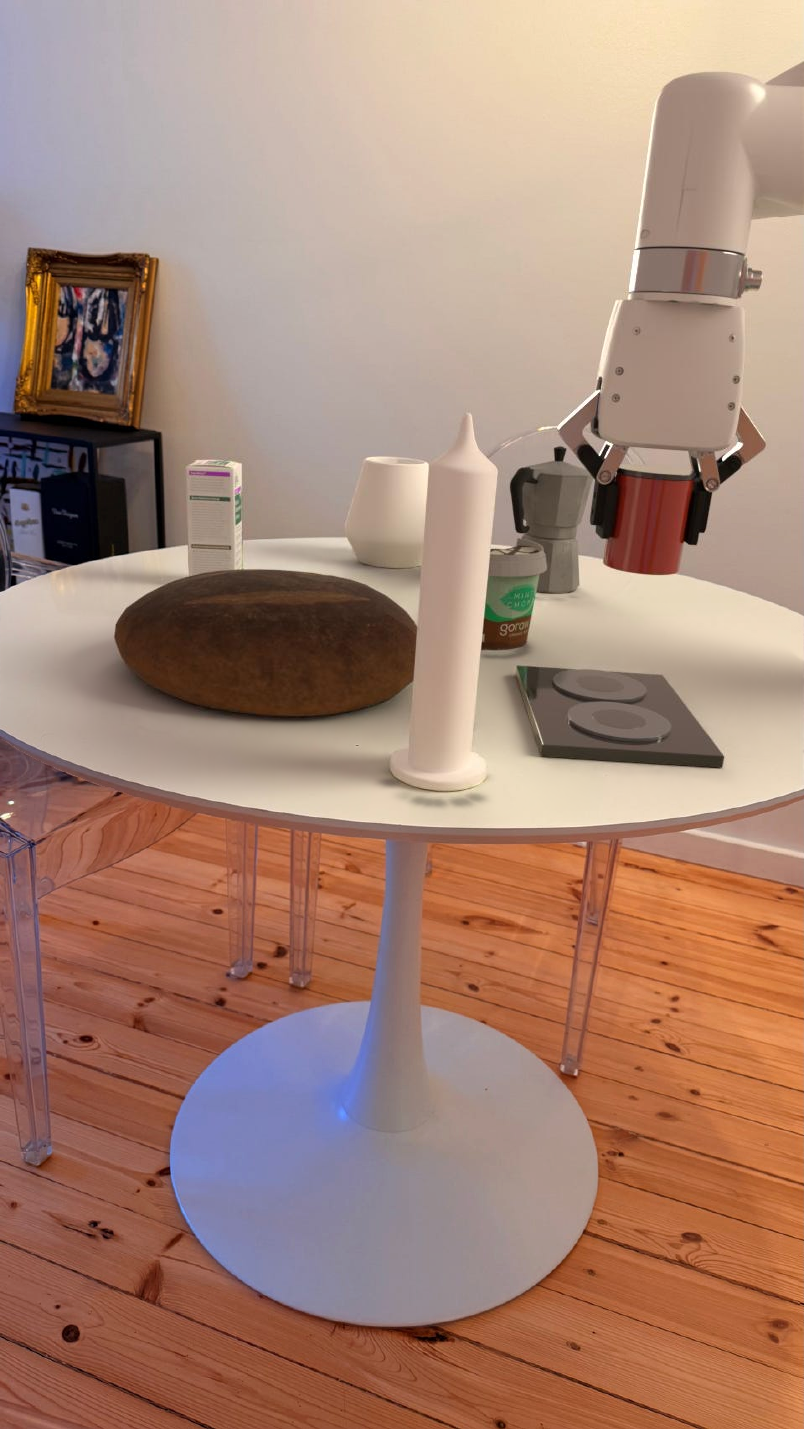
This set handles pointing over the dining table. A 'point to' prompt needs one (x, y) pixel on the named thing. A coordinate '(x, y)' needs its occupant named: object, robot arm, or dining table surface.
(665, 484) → the red canister
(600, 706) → the hob
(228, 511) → the syrup box
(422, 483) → the white vase
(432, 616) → the candle
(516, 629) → the food container
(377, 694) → the bread
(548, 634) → the dining table surface
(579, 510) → the coffeepot
